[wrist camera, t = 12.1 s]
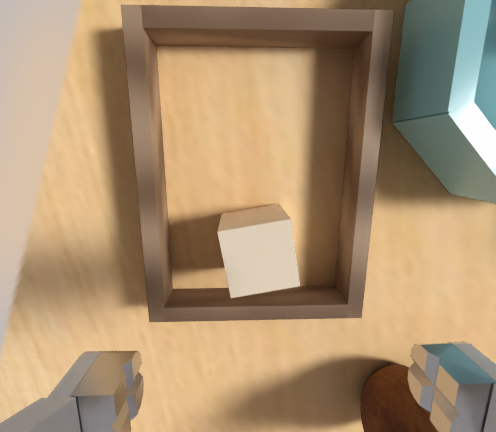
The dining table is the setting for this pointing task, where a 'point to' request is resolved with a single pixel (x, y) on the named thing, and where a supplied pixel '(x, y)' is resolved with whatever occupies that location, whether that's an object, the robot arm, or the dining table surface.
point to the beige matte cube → (258, 250)
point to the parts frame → (356, 159)
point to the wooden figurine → (392, 403)
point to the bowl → (450, 92)
